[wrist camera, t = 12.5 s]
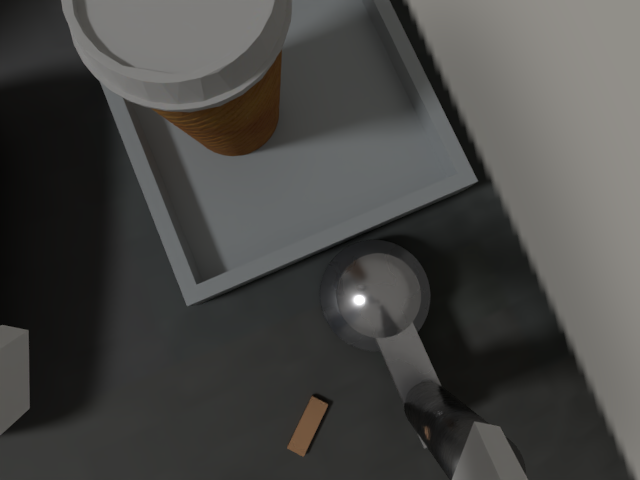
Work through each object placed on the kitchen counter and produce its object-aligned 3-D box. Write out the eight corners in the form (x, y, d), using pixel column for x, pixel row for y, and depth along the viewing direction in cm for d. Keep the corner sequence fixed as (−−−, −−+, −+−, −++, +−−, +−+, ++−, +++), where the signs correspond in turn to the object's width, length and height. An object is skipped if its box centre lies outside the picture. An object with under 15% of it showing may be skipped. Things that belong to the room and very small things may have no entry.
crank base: (228, 299, 27) (221, 300, 25) (396, 227, 27) (402, 222, 25) (292, 459, 25) (290, 474, 23) (465, 379, 26) (478, 387, 24)
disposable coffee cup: (289, 38, 28) (266, -145, 16) (313, 165, 27) (309, 71, 15) (156, 61, 28) (34, -107, 16) (176, 191, 27) (61, 115, 15)
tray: (99, 50, 29) (78, 28, 26) (349, -46, 30) (352, -76, 27) (199, 304, 27) (187, 306, 24) (463, 190, 28) (478, 181, 25)
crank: (323, 273, 25) (328, 266, 16) (395, 242, 25) (440, 217, 16) (400, 450, 23) (452, 552, 14) (474, 415, 24) (571, 494, 15)
